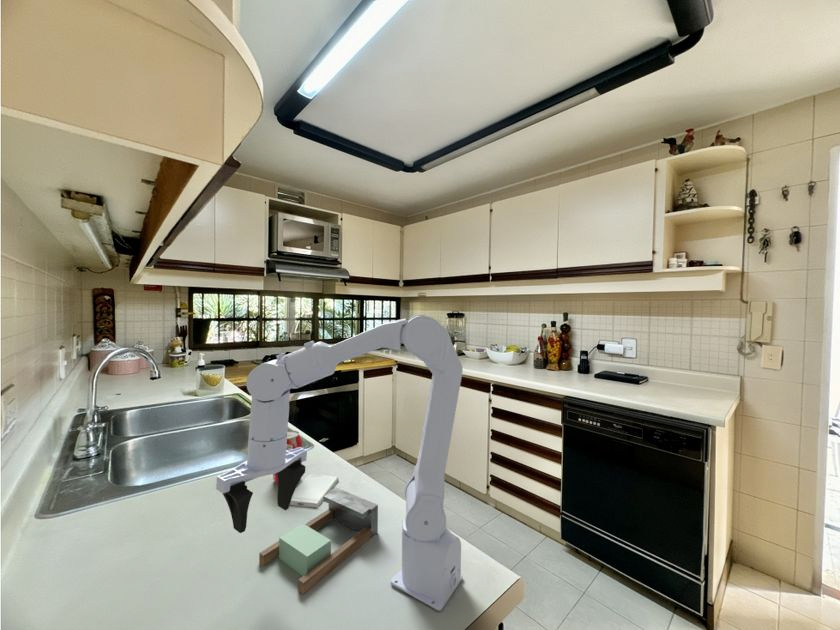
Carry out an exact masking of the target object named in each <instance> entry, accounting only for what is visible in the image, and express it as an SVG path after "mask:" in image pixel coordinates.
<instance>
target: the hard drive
mask: <svg viewBox="0 0 840 630" xmlns="http://www.w3.org/2000/svg"><path fill="white" fill-rule="evenodd" d="M338 482H339V476H333V475H324V474H311V473H310V474H308V475H307V477H305V479H303V481H301V483H300V484H299V485H297V486H296V488H295V491H294V493H293V496H292V499H291V502H290V505H289V506H297V507H298V506H299V507H307V508H318V507H319V506H320V505H321V504H322V503H323V502H324V501H323V496H324V495H326V494H328V493H329V491H330V490H332V489H334V488H335V486H336V484H337V483H338ZM334 485H335V486H334Z"/></svg>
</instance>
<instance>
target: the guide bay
mask: <svg viewBox="0 0 840 630" xmlns="http://www.w3.org/2000/svg"><path fill="white" fill-rule="evenodd" d="M322 502H325V503H326V504H328V508H327V509H326V510H325V511H324V512H321V514H319V515H317V516H315V517H314V518H312V519H311V520H309V521H308V522H306V523H304V524H305V525H306V526H308V527H310V528H311V529H313V530H315V531H316V532H317V530H319V529H321V528H323V526H325V525H326V524H328V523H329V522H331V521H333V520H334V521H335V522H338V523H340V524H342V525H344V526H346V527H347V528H350V529H352V530H355V532H356V531H357V533H356V534H354V535H353V536H352V537H351V538H350V539H348V540H347V541H346V542H344V543H343V544H341V546H339V547H338V548H337V549H335V550H334V551H333V552H331V555H329V556H328V557H327V558H325V559H324V560H323V561H322V562H320V563H319V564H318V565H316V566H315V567H314V568H313V569H311V570H310V571H309V572H308V573H306V574H305V575H304V576H302V575H301V577H300V578H298V580H297V581H298V588H297V589H298V592H299V593H301V594H302V595H304V594H306V593H307V592H308V591H310V590H311V589H312V588H313V587H314V586H316V584H317V583H319V582H320V581H321V580H322V579H324V578H325V577H326V575H328V574H329V573H331V572H332V571H333V570H334V569H335V568H336V567H338V566H339V565H340V564H342V562H344V561H345V560H346V559H348V558H349V557H350V556H351V555H352V554H353V553H354V552H356V551H357V550H358V549H359V548H361V547H362V545H364V544H365V543H366V542H368V541H369V540H370V539H371V538H373V537H374V536H375V535H377V534H378V532H379V530H378V529H379V528H378V525H379V523H378V521H379V519H378V517H379V504H377V503H375V502H372V501H370V500H368V499H365V498H362V497H361V496H357V495H355V494H353V493H350V492H348V491H345V490H343V489H341V488H338V487H335V486H334V487H333V488H332V489H331V490H330V491H329V493H328V494H326V495H324V496H323V501H322ZM258 556H259V559H258V560H259V562H258V563H259V565H261V566H263V567H264V566H266V565H268V564H269V563H270V562H272V561H273V560H275V559H276V558H278V557H279V540H277V541H276V542H275V543H273V544H271V545H269V546H268V547H267V548H265V549H263V550H262V551H260V552H259V554H258Z"/></svg>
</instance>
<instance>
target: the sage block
mask: <svg viewBox="0 0 840 630" xmlns="http://www.w3.org/2000/svg"><path fill="white" fill-rule="evenodd" d="M305 524H306V523H302V524H299V525H298V526H296V527H294V528H292V529H291V530H290V531H288V532H286V533H284V534H283V535H281V536H280V537H279V538H278V541H279V556H278V559H279V560H281V561H282V562H283V563H285V564H286V565H287V566H289V567H290V568H292V569H293V570H294V571H295V572H296V573H298V574H299V575H300V576H301V577H302V576H304V575H305V574H306V573H308V572H309V571H310V570H311V569H313V568H314V567H315V566H316V565H318V564H319V563H320V562H322V561H323V560H324V559H325V558H327V557H328V556H329V555H331V554H332V539H330V538H328V537H326V536H325V535H323V534H321V533H320V532H318V531H317V530H316V531H315V530H313V529H311V528H310V527H308V526H306V525H305Z"/></svg>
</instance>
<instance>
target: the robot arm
mask: <svg viewBox="0 0 840 630" xmlns="http://www.w3.org/2000/svg"><path fill="white" fill-rule="evenodd" d="M402 344H403V345H404V348H405V349H406V350H407V351H408V353H410V354H411V355H413V356H415V358H417V359H419V360H421V361H422V362H423V363H424V365H425V366H426V368H428V370H429V371H430V373H431V374H432V376H431V382H430V387H429V393H428V397H427V402H426V403H427V405H426V408H425V409H426V411H425V415H424V421H423V422H424V423H423V428H422V431H421V432H422V433H421V437H420V443H419V444H420V445H419V450H418V456H417V460H416V464H415V466H414V467H413V468H414V469H413V472H412V476H411V478H410V479H409V480H408V482H407V484H406V485H405V489H404V495H405V504H406V505H405V510H406V511H405V512H406V513H405V514H406V515H405V516H404V518H403V520H402V527H401V528H402V529H401V530H402V531H401V568H400V569H399V570H398V571H397V572H396V574H395V575H394V576H393V577H392V578H391V579H390V584H391V585H392V586H393V587H395V588H397V589H399V590H400V591H402V592H404V593H406V594H408V595H410V596H412V597H413V598H415V599H416V600H418V601H420V602H422V603H424V604H426V605H427V606H429V607H430V608H432V609H434V610H436V611H440V612H441V611H442V609H443V608H445V606H446V604H447V602H448V601H449V599H450V598H451V596H452V595H453V593H454V591H455V590H457V589H456V588H457V587H458V586H459V584H460V583H461V581H462V579H463V574H462V573H461V571H462V566H461V565H462V542H461V539H460V538H459V537H458V536H456V535H455V534H454V533H452V531H450V530H449V529H448V528H447V526H446V525H447V515H446V512H445V510H444V502H445V501H444V500H445V475H446V467H447V463H448V462H447V461H448V456H449V450H450V445H451V440H452V434H453V427H454V422H455V417H456V416H455V415H456V413H457V412H456V411H457V405H458V400H459V394H460V388H461V383H462V377H463V365H462V363H461V360H460V358H459V355H458V353H457V351H456V348H455V346H454V345H453V342H452V339H451V336H450V334H449V332H448V331H447V330H446V329H445V328H444V327H443V326H442V324H441V323H439V321H437V319H435V318H434V317H431V316H428V315H425V314H416V315H413V316H411V317H409V318H408V319H407V318H402V319H397V320H392V321H387V322H384V323H382V324H379V325H377V326H374V327H373V328H370V329H368V330H365V331H363V332H360V333H359V334H357V335H354V336H352V337H349V338H346V339H344V340H342V341H340V342H337V343H335V344H329V343H326V342H325V341H324V342H323V341H318V342H315V341H314V340H311V341H308V342H305V343H304V344H303V346H304V347H302V348H299V349H297V350H295V351H292V352H289V353H288V354H285V352H282V353H280V354H278V355H276V356H275V357H276V359H272V360H269V361H266V362H262V363H260V364H259V365H256V367H254V368H253V369H251V371H250V372H249V374H248V375H247V378H246V389H247V391H248V393H249V395H250V396H251V401H250V402H251V404H250V415H249V427H248V428H249V429H248V442H247V457H246V458H247V459H246V461H244V462H242V463H240V464H238V465H237V466H235V467H233V468H232V469H230V470H228V471H227V472H224V473H222V474H219V475H217V476H216V484H215V485H216V486H215V489H216V490H217V491H218V492H219V493H221V494H222V496H223V498H224V499H225V501H226V503H227V506H228V509H229V512H230V515H231V521H232V525H233V527H232V528H233V529H234V530H235V531H236V532H237V533H239V534H242V533H243V532H246V528H247V525H248V524H247V522H248V511H249V506H250V502H251V499H252V496H253V495H254V492H253V491H251V490H250V489H248V485H247V484H246V483H247V482H251V481H252V480H255V479H257V478H261V477H266V476H270V475H273V474H275V473H277V476H278V483H277V498H276V499H277V506H278V508H281V509H282V510H283V511H287V510H288V509H289V507H290V506H291V505H290V502H291V499H292V496H293V493H294V491H295V489H296V488H297V487H298V484H299V482H300V480H301V479H302V477H303V476H304V475H305V474H306V466H305V465H304V464H301V462H302V463H304V462H306V461H307V457H308V456H307V453H308V450H307V449H305V448H303V447H302V448H301V447H299V448H296V449H291V450H286V445H287V431H289V430H288V429H289V428H288V427H289V417H290V415H289V414H290V398H291V397H290V396H291V391H290V390H291V389H293V390H294V389H299V388H302V387H304V386H307V385H309V384H312V383H314V382H316V381H320V380H322V379H324V378H326V377H329V376H332V375H333V374H335V371H336V369H337V367H338V364H340V363H343V362H346V361H349V360H351V359H354V358H358V357H360V356H362V355H365V354H367V353H371V352H373V351H376V350H379V349H381V348H383V349H384V348H385V349H390V350H391V349H392V350H393V351H401V350H402V349H401V347H402Z"/></svg>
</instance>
